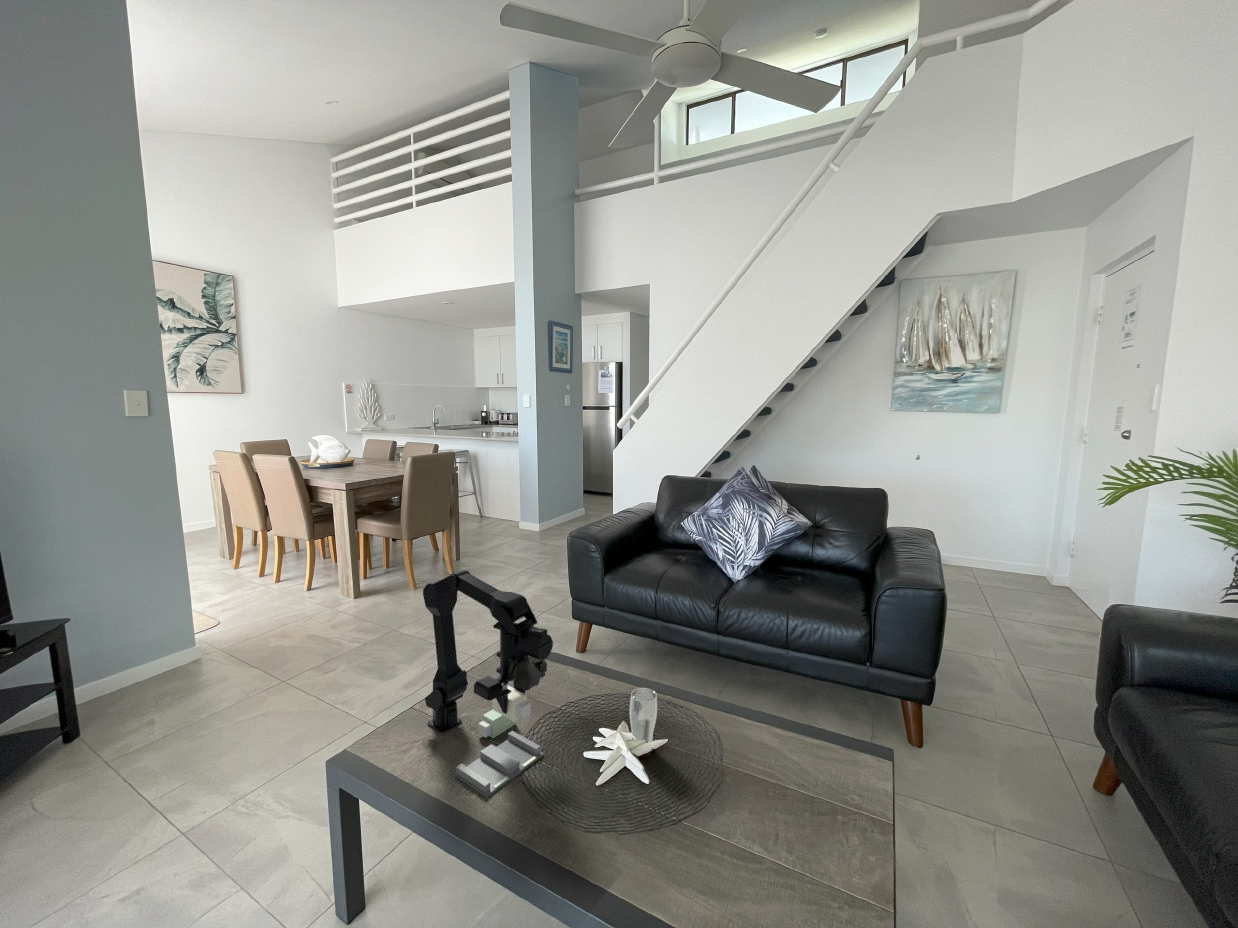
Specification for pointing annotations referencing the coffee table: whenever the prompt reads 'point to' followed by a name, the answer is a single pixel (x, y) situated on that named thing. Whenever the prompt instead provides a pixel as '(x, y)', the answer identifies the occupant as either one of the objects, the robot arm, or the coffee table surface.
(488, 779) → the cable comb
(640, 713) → the beer glass
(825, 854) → the coffee table surface
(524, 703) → the cream plug
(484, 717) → the sage plug
